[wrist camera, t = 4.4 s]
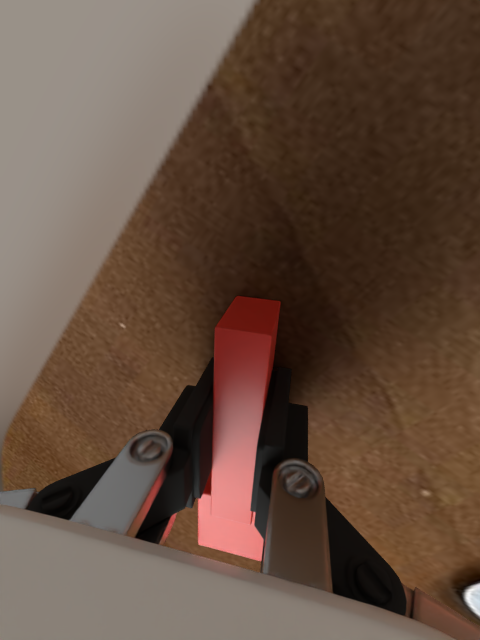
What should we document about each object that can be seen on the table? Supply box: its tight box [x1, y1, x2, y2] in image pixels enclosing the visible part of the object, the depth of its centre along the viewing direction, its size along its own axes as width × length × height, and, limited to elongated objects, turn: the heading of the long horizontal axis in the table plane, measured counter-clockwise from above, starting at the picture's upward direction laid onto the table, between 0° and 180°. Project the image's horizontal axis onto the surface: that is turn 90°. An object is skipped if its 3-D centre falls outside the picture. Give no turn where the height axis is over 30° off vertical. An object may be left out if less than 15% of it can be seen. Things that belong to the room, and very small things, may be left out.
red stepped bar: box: [198, 296, 281, 561], centre depth 12 cm, size 12×3×3 cm, turn 177°
